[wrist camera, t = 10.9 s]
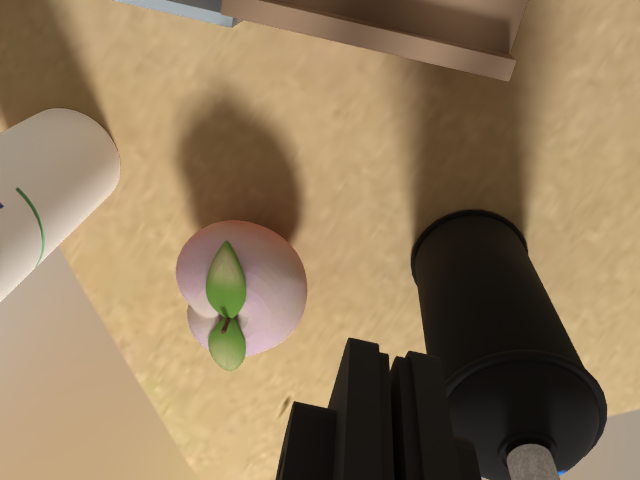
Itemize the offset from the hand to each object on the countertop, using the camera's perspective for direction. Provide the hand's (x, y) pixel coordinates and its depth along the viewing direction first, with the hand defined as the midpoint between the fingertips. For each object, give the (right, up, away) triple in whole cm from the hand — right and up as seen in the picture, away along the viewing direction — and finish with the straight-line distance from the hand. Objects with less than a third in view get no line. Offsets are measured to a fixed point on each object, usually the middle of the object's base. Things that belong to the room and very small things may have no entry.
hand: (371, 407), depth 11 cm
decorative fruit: (-6, +2, +32) cm, 33 cm away
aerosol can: (+10, +2, +31) cm, 33 cm away
